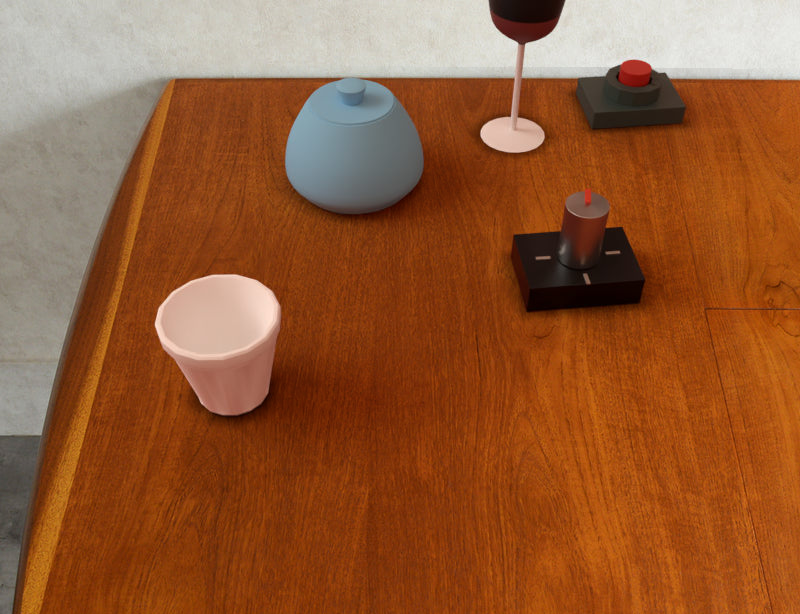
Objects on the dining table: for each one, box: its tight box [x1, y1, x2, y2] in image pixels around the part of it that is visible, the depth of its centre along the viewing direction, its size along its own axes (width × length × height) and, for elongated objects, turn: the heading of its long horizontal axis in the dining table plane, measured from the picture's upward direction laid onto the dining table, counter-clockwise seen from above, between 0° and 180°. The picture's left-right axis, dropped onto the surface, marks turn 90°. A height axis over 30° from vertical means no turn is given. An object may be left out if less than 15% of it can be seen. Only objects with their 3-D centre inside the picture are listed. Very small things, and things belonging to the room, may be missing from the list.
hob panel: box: [510, 226, 646, 313], centre depth 87 cm, size 11×8×3 cm
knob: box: [557, 188, 611, 269], centre depth 83 cm, size 4×4×6 cm
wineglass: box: [480, 0, 566, 154], centre depth 97 cm, size 8×9×20 cm
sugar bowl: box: [284, 77, 425, 215], centre depth 94 cm, size 15×15×12 cm
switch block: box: [575, 63, 687, 130], centre depth 107 cm, size 11×8×4 cm
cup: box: [154, 273, 282, 417], centre depth 75 cm, size 10×10×9 cm
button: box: [618, 59, 653, 87], centre depth 105 cm, size 4×4×2 cm
